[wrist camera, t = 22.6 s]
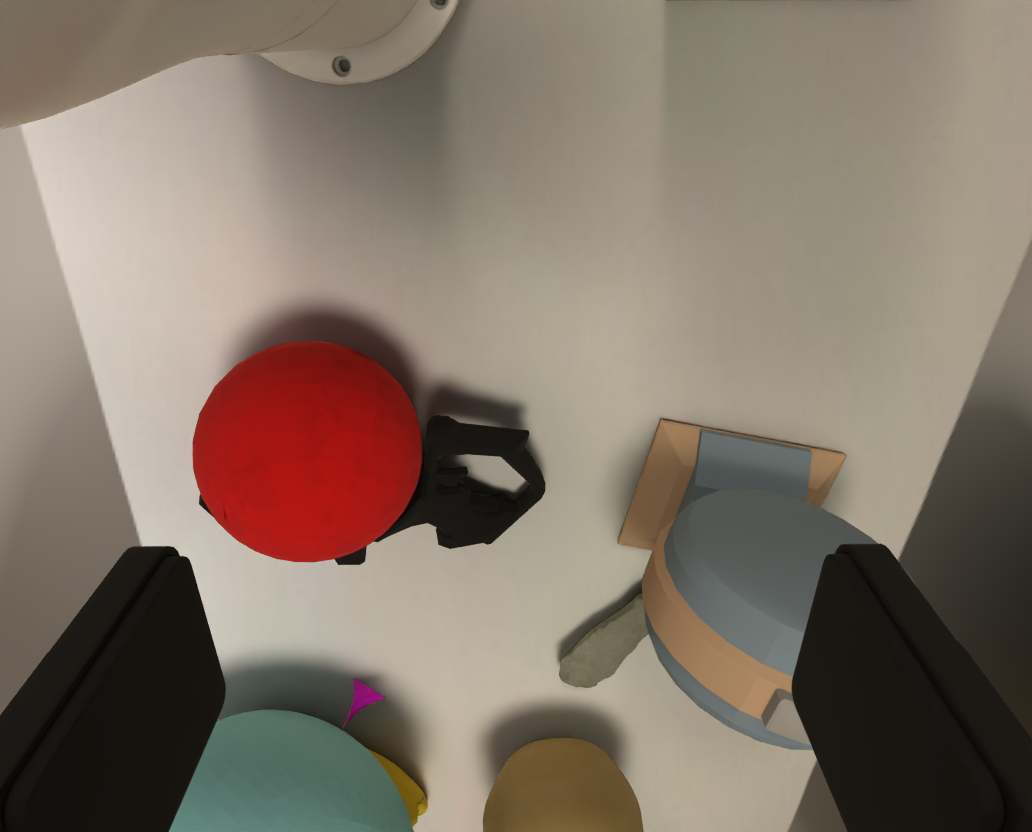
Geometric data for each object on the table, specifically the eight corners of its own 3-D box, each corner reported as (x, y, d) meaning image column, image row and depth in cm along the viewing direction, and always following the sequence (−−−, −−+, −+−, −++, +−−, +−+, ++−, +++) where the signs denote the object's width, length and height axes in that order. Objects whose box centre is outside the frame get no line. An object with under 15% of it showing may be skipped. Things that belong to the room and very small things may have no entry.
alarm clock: (603, 539, 48) (647, 782, 32) (645, 416, 43) (719, 630, 28) (799, 572, 49) (932, 820, 34) (860, 456, 45) (1046, 681, 29)
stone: (542, 655, 53) (588, 674, 55) (546, 679, 51) (594, 697, 53) (663, 555, 48) (708, 581, 50) (673, 578, 46) (719, 603, 49)
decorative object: (615, 448, 33) (155, 464, 28) (544, 620, 44) (204, 657, 39) (554, 302, 42) (187, 292, 36) (506, 479, 52) (219, 492, 47)
